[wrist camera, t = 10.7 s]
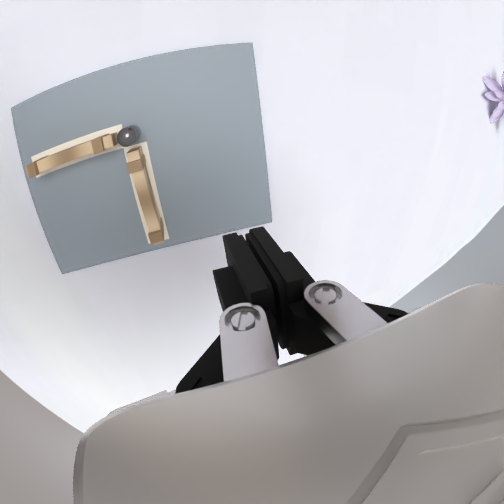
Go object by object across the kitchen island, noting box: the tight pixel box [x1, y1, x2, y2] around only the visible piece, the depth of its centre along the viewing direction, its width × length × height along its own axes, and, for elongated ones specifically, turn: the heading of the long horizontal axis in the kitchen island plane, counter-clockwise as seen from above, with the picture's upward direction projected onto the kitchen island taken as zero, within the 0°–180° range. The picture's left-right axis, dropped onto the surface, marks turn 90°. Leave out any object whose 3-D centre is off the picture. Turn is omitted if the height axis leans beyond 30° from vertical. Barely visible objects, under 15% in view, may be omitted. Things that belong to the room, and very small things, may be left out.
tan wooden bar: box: [126, 146, 164, 245], centre depth 28 cm, size 10×1×4 cm, turn 11°
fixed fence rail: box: [26, 132, 118, 179], centre depth 23 cm, size 10×1×4 cm, turn 99°
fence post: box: [117, 125, 141, 147], centre depth 25 cm, size 2×2×6 cm
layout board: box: [11, 43, 272, 274], centre depth 28 cm, size 28×22×1 cm
